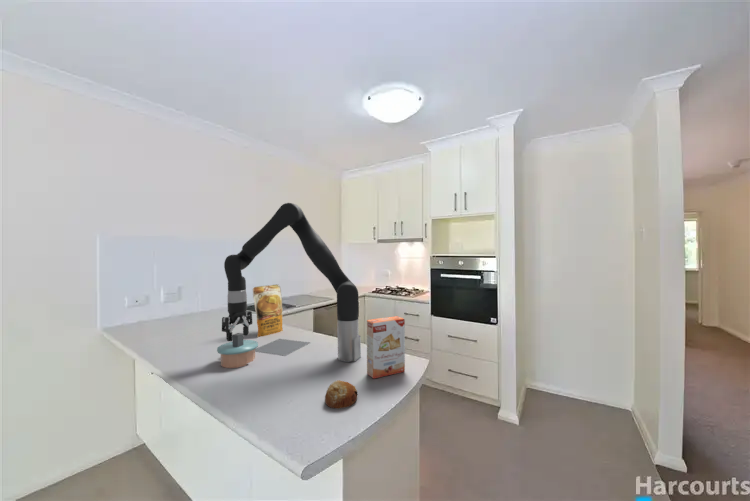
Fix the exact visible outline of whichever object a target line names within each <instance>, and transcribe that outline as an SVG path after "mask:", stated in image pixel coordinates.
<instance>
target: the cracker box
mask: <svg viewBox="0 0 750 501" xmlns="http://www.w3.org/2000/svg"><path fill="white" fill-rule="evenodd" d="M405 323H406V319H405V318H404V317H400V316H398V315H396V316H390V317H389V316H388V317H379V318H373V319H367V320H366V374H367V375H368V376H369V377H371V378H372V379H378V378H382V377H386V376H391V375H394V374H399V373H404V372H405V370H406V368H405V367H406V365H405V363H406V360H405V359H406V357H405V356H406V354H405V353H406V351H405V350H406V349H405V347H406V346H405V342H406V341H405V340H406V339H405V338H406V337H405V335H406V334H405V333H406V332H405V331H406V329H405V326H406V325H405Z"/></svg>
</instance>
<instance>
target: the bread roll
mask: <svg viewBox="0 0 750 501" xmlns="http://www.w3.org/2000/svg"><path fill="white" fill-rule="evenodd" d="M358 395H359V394H358V390H357V388H356V386H355V385H354V384H352V383H350V382H348V381H345V380H344V381H343V380H335V381H333V382H332V383H331V384H330V385H329V387H327V390H326V392H325V396H324V402H325V404H326V406H328V408H331V409H338V410H339V409H344V408H348V407H351V406H352V405H354V404H355V403H356V401H357V399H358Z"/></svg>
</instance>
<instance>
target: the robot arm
mask: <svg viewBox="0 0 750 501" xmlns="http://www.w3.org/2000/svg"><path fill="white" fill-rule="evenodd" d="M287 227H290V228H291V229H292V231H293V232H294V233H295V234H296V236H297V237H298V239H299V240H300V242H301V245H302V247H303V250H304V253H306V255H307V257H308V258H309V259H310V261H311V262H312V264H313V266H315V268H317V270H318V271H320V273H321V274H323V276H324V277H325V278H326V279H327V280H328V281H329V283H330V284H331V286H332V288H333V289H334V291H335V293H336V316H337V317H336V320H337V321H336V323H337V326H336V327H337V359H338V360H339V361H340V362H344V363H345V362H347V363H350V362H356V361H358V360H359V359H360V358H361V357H362V353H361V350H362V349H361V345H362V344H361V343H362V342H361V335H359V333H360V332H359V312H360V311H359V303H360V302H359V301H360V300H359V290H358V288H357V286H356V285H355V283H353V282H352V281H351V280H350V279H349V277H348V276H347V275H346V274H345V273H344V271H343V270H342V268H341V267H340V265H339V263H338V260H337V259H336V257H335V256H334V254H333V252H332V251H331V250H330V248H329V247H328V246H327V243H325V241H324V240H323V239H322V238H321V236H320V235H319V234H318V233H317V232H316V231H315V230H314V228H313V227H312V225H311V224H310V221H309V220H308V218H307V216H306V215H305V214H304V211H303V210H302V208H301V207H300V206H299V205H298V204H296V203H292V202H284V203H283V204H281V205H280V206H279V208H278V209H277V210H276V212H275V213H274V214H273V216H271V218H270V219H269V220H268V221H267V223H266V224H264V226H263V227H261V229H260V230H259V231H257V232H256V233H255V234H253V236H252V237H250V238H249V240H247V241H246V242H245V243H244V244H243V245H242V247H241V250H240V251H239V252H238V253H237V254H229V255H228V256H226V258H225V259H224V263H223V267H224V272H225V276H226V279H227V313H228V316H222V318H221V332H224V333H225V335H226V340H227V342H233V340H232V335H233V330H234V329H235V328H236V326H238V325H240V324H241V325H242V326H243V327H242V332H243V333H242V334H243V337H245V336H246V337H247V336H249V327H250V326H251V325H253V312H252V311H250V310H249V311H248V310H247V309H248V303H247V302H248V299H247V298H248V297H247V296H248V295H247V282H246V277H245V276H243V275H242V270H245V269H246V268H247V267H249V265H251V264H252V262H253V260H255V258H256V257H257V256H258V255H259V254H261V252H263V250H265V249H266V248H267V247H268V246H269V245H270V243H271V242H272V241H273V239H274V238H275V237H276V236H277V235H278V234H279V233H280V232H282V231H283V230H284V229H286V228H287Z"/></svg>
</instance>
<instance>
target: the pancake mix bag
mask: <svg viewBox="0 0 750 501" xmlns="http://www.w3.org/2000/svg"><path fill="white" fill-rule="evenodd" d="M252 298H253V304H254V309H255V314H256V324H257V336H256V338H260V337H266V336H271V335H274V334H278V333H281V332H283V331H284V330H283V296H282V289H281V286H280V285H279V284H270V285H268V284H267V285H259V286H253V288H252Z"/></svg>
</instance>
